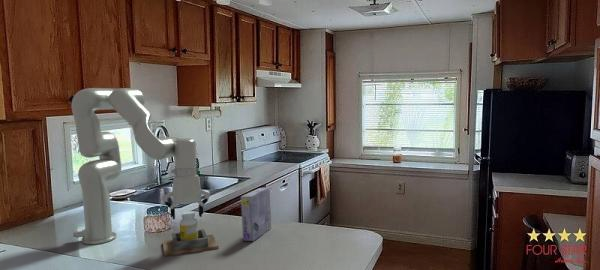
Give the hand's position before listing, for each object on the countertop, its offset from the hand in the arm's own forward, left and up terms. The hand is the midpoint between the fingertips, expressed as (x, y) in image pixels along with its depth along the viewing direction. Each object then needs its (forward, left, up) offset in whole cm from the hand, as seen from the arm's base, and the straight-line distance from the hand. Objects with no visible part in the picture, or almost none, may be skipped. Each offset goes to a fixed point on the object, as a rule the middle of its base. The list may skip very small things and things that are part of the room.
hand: (187, 217), depth 160 cm
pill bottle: (0, 0, -10) cm, 10 cm away
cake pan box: (+28, +3, -11) cm, 30 cm away
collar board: (+1, 0, -11) cm, 11 cm away
